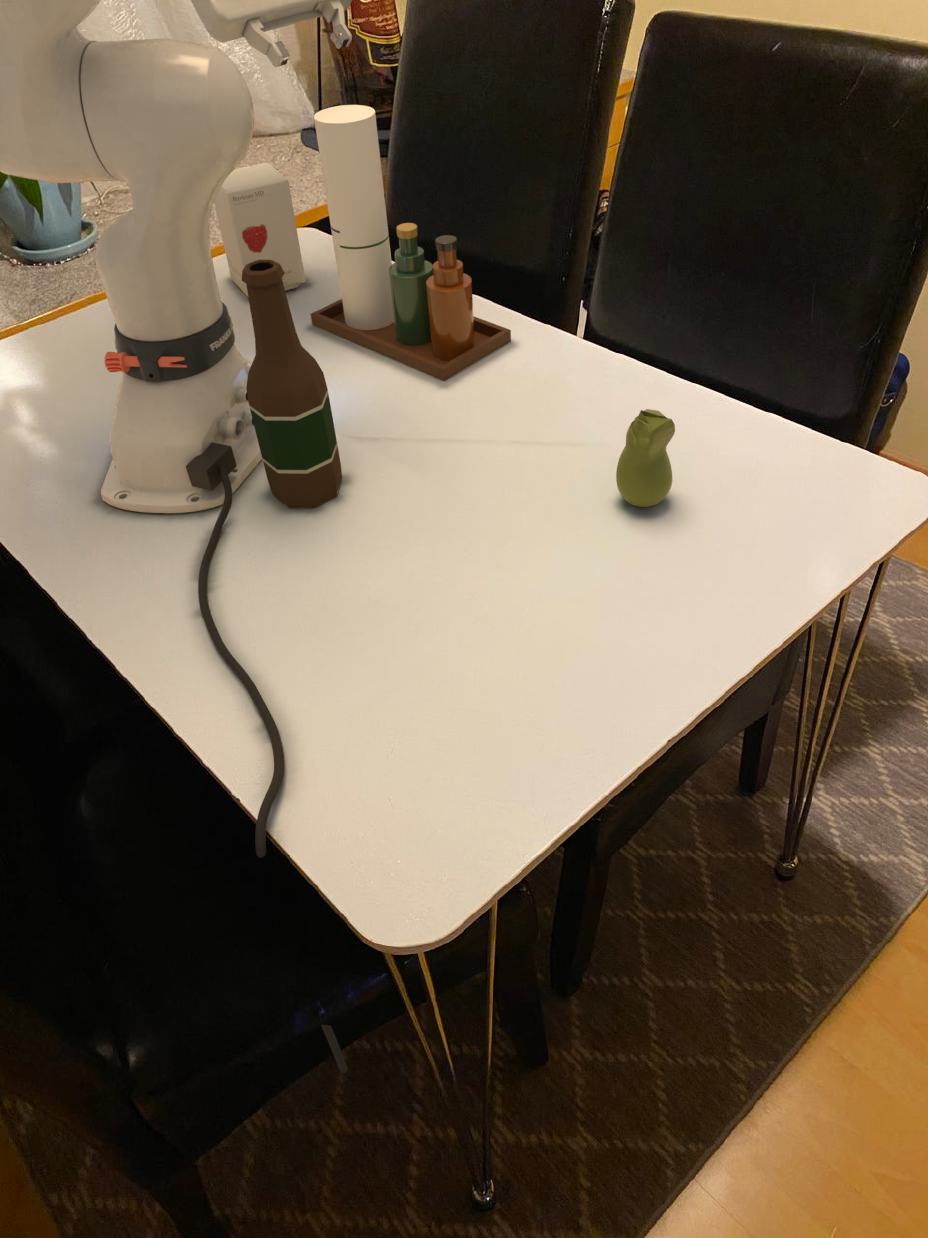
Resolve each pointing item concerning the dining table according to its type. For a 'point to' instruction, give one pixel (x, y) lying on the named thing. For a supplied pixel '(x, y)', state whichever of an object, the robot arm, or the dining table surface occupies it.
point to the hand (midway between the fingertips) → (315, 52)
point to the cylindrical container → (357, 212)
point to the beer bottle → (288, 398)
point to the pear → (646, 460)
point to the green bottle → (410, 288)
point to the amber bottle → (450, 303)
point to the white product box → (259, 223)
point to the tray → (414, 356)
